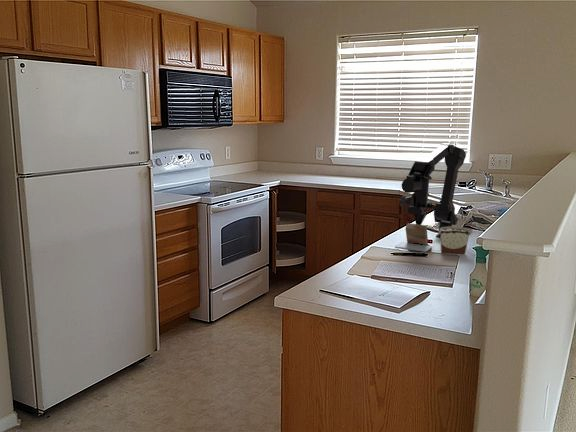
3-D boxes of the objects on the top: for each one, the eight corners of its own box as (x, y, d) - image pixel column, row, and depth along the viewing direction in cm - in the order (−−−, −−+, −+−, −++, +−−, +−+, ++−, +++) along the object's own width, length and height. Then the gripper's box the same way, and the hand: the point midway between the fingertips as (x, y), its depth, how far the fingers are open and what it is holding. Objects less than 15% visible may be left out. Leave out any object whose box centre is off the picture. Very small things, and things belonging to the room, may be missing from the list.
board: (401, 242, 227) (401, 241, 227) (431, 247, 222) (432, 246, 221) (394, 247, 220) (394, 246, 220) (426, 251, 214) (426, 251, 214)
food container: (464, 250, 217) (466, 226, 215) (468, 254, 211) (471, 230, 209) (433, 249, 217) (435, 225, 215) (437, 254, 211) (439, 229, 209)
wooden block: (409, 238, 229) (407, 222, 223) (428, 240, 225) (426, 225, 219) (407, 243, 227) (405, 227, 221) (426, 246, 223) (424, 230, 217)
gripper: (408, 186, 233) (405, 221, 236) (395, 191, 217) (392, 229, 220) (433, 188, 228) (430, 224, 231) (422, 194, 211) (419, 233, 215)
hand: (418, 227), depth 224 cm, fingers closed
